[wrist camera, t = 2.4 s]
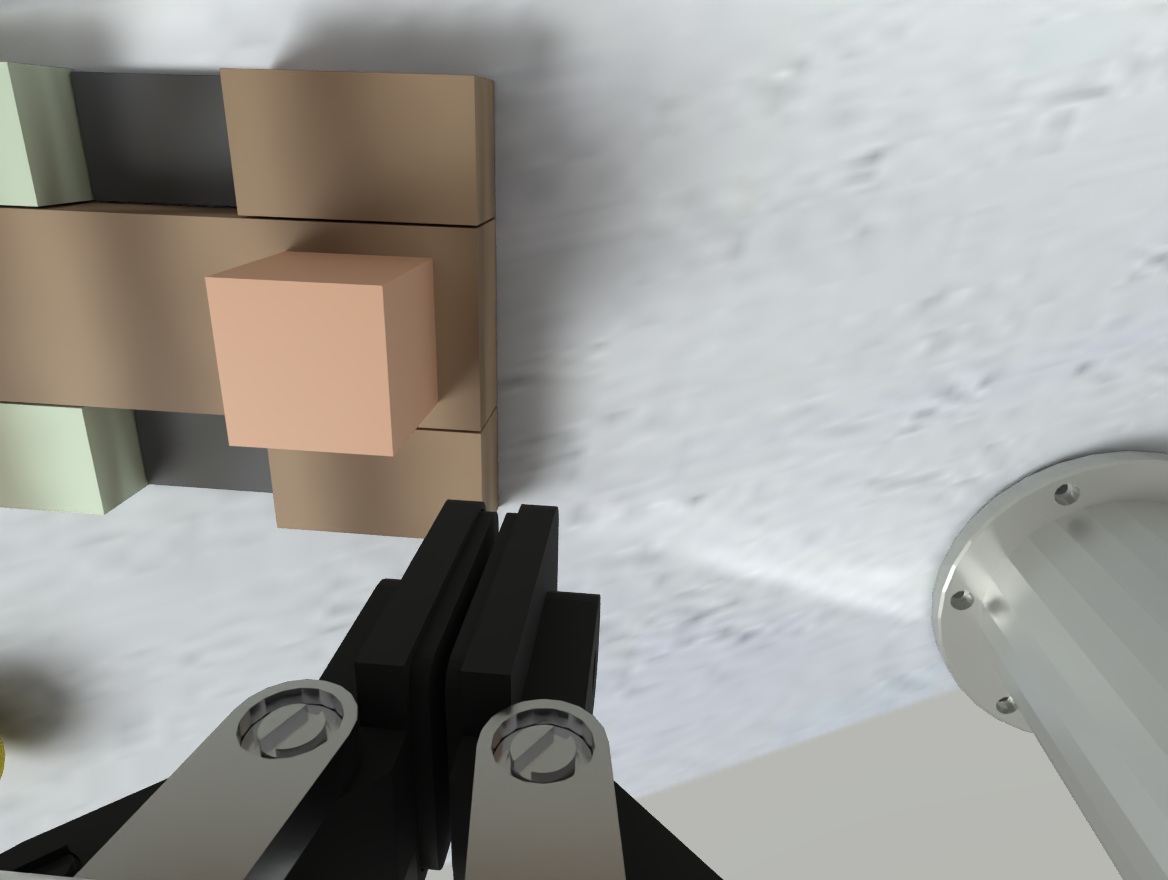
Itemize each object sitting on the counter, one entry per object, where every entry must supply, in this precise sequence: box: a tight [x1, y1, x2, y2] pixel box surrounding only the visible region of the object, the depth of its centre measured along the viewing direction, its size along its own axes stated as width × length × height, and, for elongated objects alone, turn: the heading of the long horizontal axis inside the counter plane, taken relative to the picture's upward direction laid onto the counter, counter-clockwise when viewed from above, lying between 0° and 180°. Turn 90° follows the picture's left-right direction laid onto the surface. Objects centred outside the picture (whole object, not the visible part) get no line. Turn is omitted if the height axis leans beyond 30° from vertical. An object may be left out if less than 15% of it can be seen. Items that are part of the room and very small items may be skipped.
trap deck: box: [0, 62, 498, 539], centre depth 28 cm, size 24×16×5 cm, turn 88°
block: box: [205, 251, 438, 456], centre depth 25 cm, size 5×5×5 cm
